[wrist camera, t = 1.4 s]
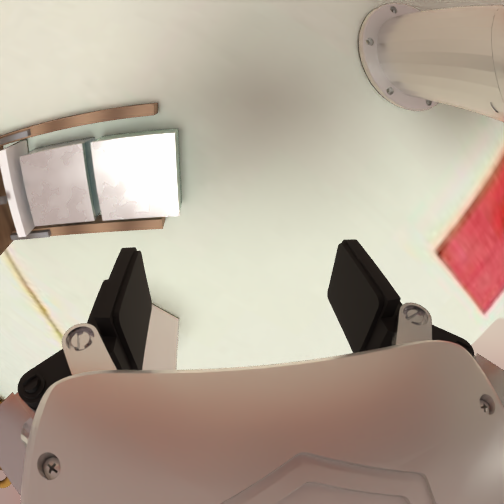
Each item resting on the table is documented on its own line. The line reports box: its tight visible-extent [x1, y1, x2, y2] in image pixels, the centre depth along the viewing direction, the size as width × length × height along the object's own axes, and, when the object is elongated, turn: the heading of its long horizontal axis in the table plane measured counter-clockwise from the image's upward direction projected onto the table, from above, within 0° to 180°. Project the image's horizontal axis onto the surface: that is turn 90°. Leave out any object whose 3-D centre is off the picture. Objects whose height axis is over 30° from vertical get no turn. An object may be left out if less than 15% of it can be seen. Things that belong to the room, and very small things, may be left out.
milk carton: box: [142, 304, 179, 370], centre depth 28 cm, size 7×7×19 cm
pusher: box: [0, 140, 35, 237], centre depth 22 cm, size 1×9×4 cm, turn 178°
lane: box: [0, 103, 165, 255], centre depth 22 cm, size 20×12×6 cm, turn 88°
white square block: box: [19, 137, 101, 226], centre depth 24 cm, size 8×8×4 cm
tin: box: [91, 129, 182, 221], centre depth 25 cm, size 8×8×4 cm
